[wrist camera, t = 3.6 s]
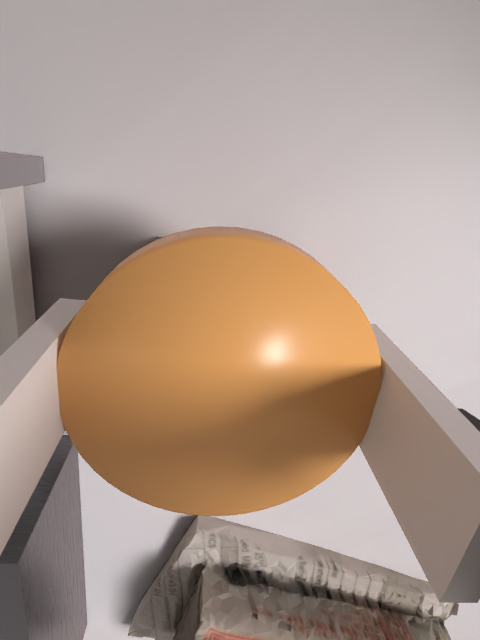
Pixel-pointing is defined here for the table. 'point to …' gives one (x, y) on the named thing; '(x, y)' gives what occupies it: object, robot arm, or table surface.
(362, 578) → the packaged product
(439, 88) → the table surface
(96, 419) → the orange dome cap
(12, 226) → the tray
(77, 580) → the housing
